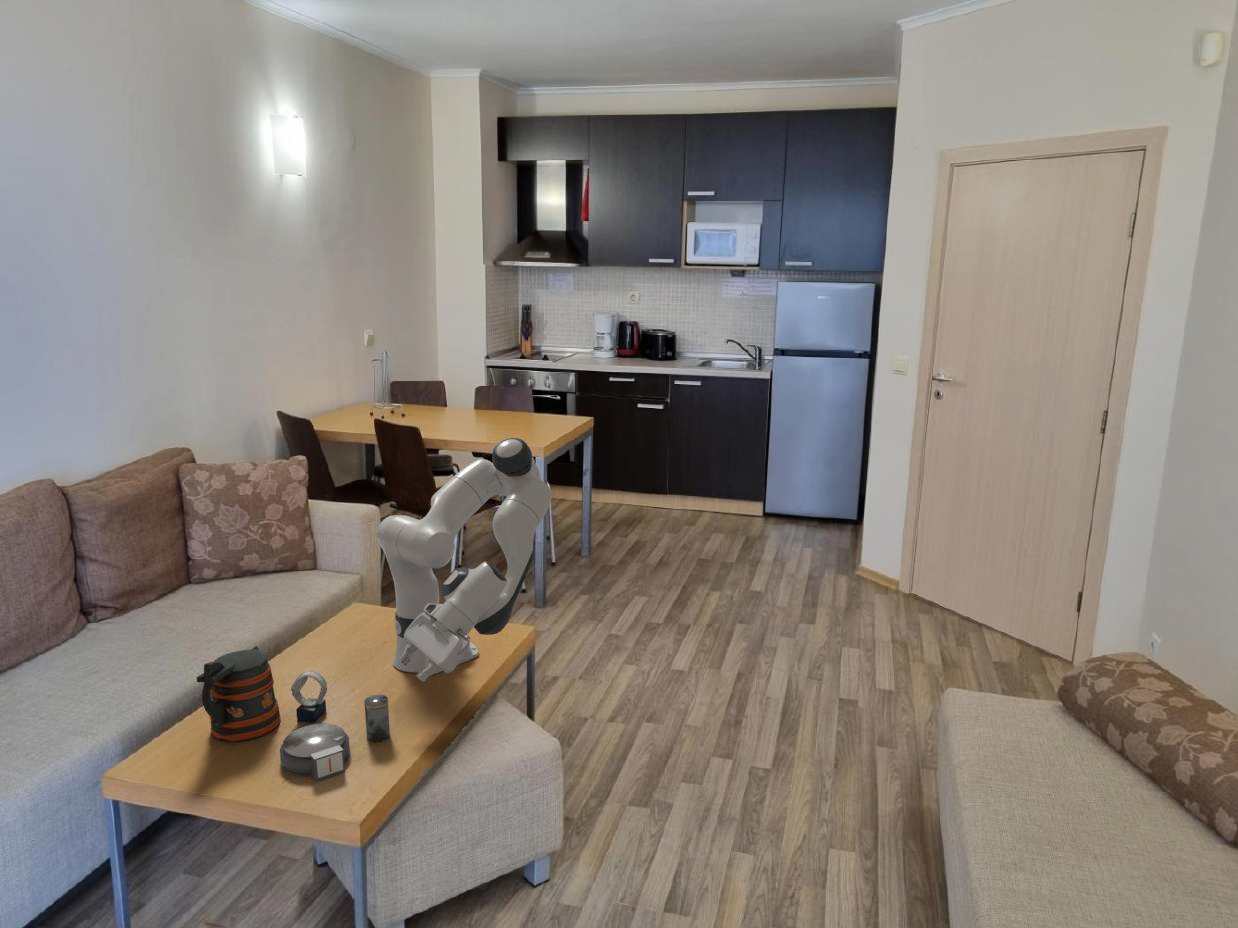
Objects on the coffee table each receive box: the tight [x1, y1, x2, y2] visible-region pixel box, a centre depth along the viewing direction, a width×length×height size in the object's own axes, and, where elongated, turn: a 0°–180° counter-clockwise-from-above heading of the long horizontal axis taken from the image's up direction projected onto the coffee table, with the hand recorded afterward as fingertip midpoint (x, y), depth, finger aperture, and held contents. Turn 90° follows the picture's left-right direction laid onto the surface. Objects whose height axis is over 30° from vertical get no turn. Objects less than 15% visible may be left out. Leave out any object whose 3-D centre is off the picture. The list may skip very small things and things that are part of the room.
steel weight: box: [363, 694, 391, 744], centre depth 195 cm, size 5×5×9 cm
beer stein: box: [196, 645, 282, 742], centre depth 196 cm, size 19×15×20 cm
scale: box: [279, 732, 351, 782], centre depth 186 cm, size 14×16×5 cm
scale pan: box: [282, 723, 346, 758], centre depth 187 cm, size 13×13×1 cm
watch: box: [290, 670, 328, 724], centre depth 203 cm, size 6×8×11 cm
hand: (410, 670), depth 197 cm, fingers open, 8 cm apart
